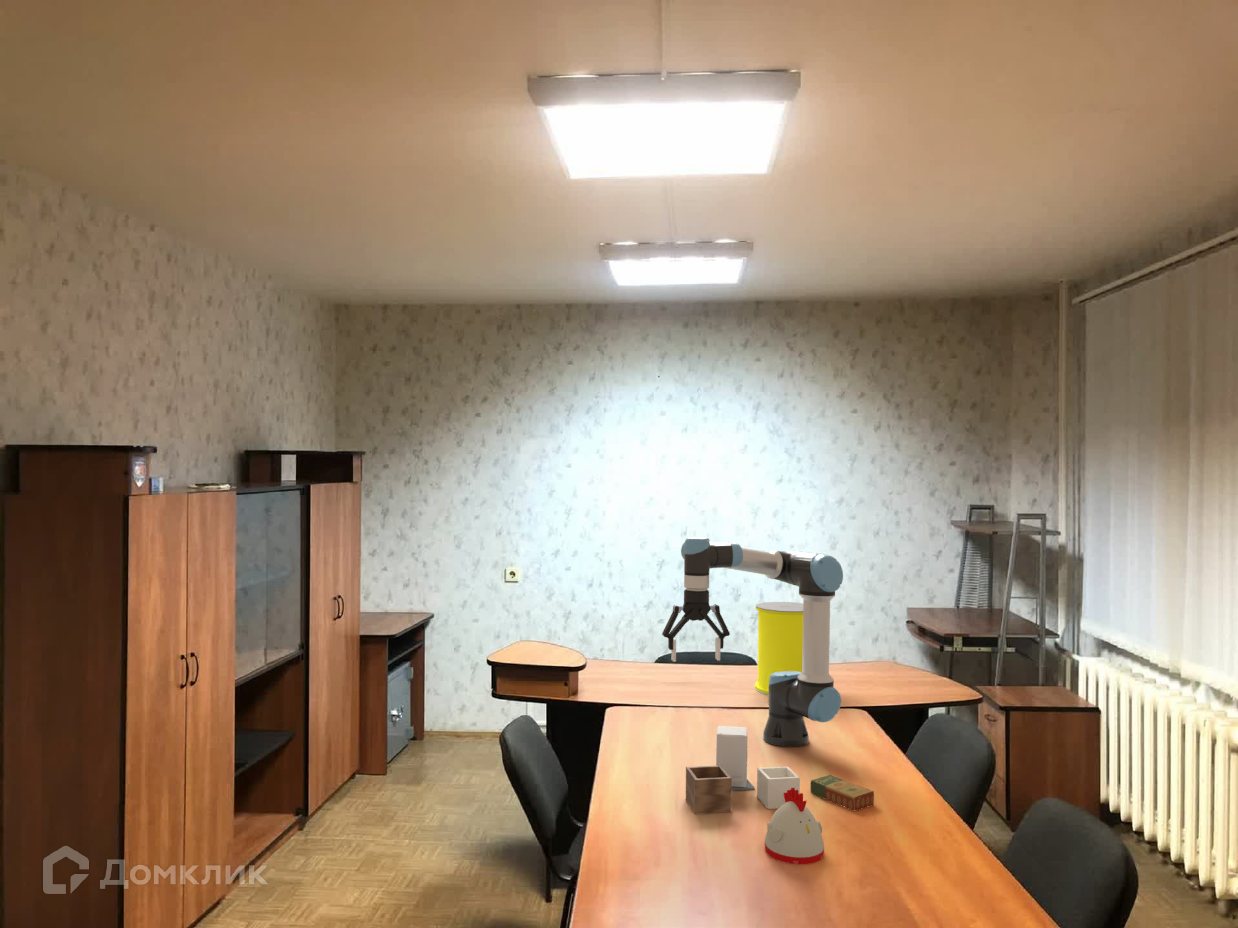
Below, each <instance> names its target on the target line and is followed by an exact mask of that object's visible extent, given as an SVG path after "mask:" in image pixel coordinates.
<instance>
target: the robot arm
mask: <svg viewBox="0 0 1238 928" xmlns="http://www.w3.org/2000/svg"><path fill="white" fill-rule="evenodd" d="M680 553H681V555H680V556H681V557H682V559H683V563H684V564H683V566H684V568H683V571H684V573H683V574H684V576H683V577H684V578H683V587H684V588H685V589H684V590H683V605H681V606H680V605H677V604H674V605H673V606H672V612H671V615H670V617H669V619H668V620H667V623H666V625H665V627H664V628H663V631H662V636H663V637H664V638H667V639H668V640H667V645H668V646H667V649H668V650H670V652H671V658H670V659H671V661H672V662H673V663H674V662H677V639H676V638H675V637H676V636H677V635H678V633H679V632H680V631H681V630H682V629H683V627H684V626H685V625H686V624H687V623H688V622H689V621H692V622H694V621H703V620H704V621H705V622H706V623H707V624H708V625H709V627H710V628H711V629H712V630H713V631H714V633H715V634H716V635H717V636H715V640H714V641H715V649H714V650H715V653H714V654H715V657H714V658H715V660H717V661H718V662H719V661H721V650H723V649H724V643H725V641H724V639H725V637H729V636H730V635H731V633H730V631H729V628H728V627H727V625H726V623H725V620H724V618H723V616H722V614H721V609H720V605H718V604H715V603H714V604H713V605H710V590H709V588H710V569H720V568H721V569H722V568H724V569H728V570H729V569H730V570H734V571H741V572H742V571H743V572H745V573H746V572H748V573H753V574H760V575H764V576H765V577H767V578H768V579H770V580H771V579H772V580H777V581H780V582H783V583H786V584H789V585H792V586H794V587H795V586H796V587H798V595H799V596H800V598H801V599H803V656H802V672H797V671H783V672H775V673H773V674H771V675H770V678H769V695H768V718H767V721H766V724H765V725H764V729H763V741H764V742H766V743H767V744H771V745H775V746H779V747H789V748H791V747H793V748H794V747H802V746H805V745H807V744H808V743H809V738H810V737H809V733H808V729H807V727H806V722H805V719H804V718H806V719H809V720H811V721H813V722H819V723H827V722H830V721H831V720H833V719H834V718H835V717H836V715H837V714H838V713H839V710H840V708H841V705H842V704H841V703H842V697H841V693H840V692H839V691H838V690H837V689H836V688H835V687H834V684H835V683H834V682H835V681H834V678H833V677H832V675H831V674H830V640H831V639H830V637H831V636H830V635H831V633H830V632H831V631H830V630H831V628H830V627H831V601H832V599H834V597H836V591H838V590H839V589H840V588H841V585H842V583H843V580H844V571H843V568H842V566H841V563H840V562H839V561H838V560H837V559H836V558H835V557H833V556H832V555H828V554H825V553H817V552H816V553H815V552H806V551H805V552H804V551H795V550H794V551H791V550H790V551H789V550H788V551H785V550H784V551H782V550H775V549H774V550H770V551H764V550H763V551H762V550H757V549H752V548H746V547H741V545H740V544H738V543H737V542H730V541H729V542H718V541H717V542H716V541H710V539H709V537H705V536H704V537H703V536H691V537H690V536H689V537H687V538H685V540H684V542H683V543H682V545H681V549H680ZM710 611H711V612H712V613H713V614H714V616H715V618H716V620H717V622H718V624H719V626H720V628H721V630H722V631H721V630H720V629H719V628H718V627H717V625H716V624H715V622H714V621H713V620H712V619H711V617H710V616H709V615H708V614H709V613H710ZM681 612H683V613H684V614H683V616H681V619H680V620H679V621H678V622H677V624H676V625H675V626H674V624H675V622H676V620H677V619H678V616H679V614H680V613H681Z"/></svg>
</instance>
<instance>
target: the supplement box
mask: <svg viewBox="0 0 1238 928" xmlns="http://www.w3.org/2000/svg"><path fill="white" fill-rule="evenodd" d="M715 749H716V751H715V752H716V754H715V755H716V757H715V758H716V762H715V763H716V765H715V766H719V765H721V766H722V767H723V769H724V770H725V771H726V772H727V773H728V775H729V776H730V777H731V786H732V787H745V788H746V785H747V780H748V778H747V777H748V727H747V726H746V727H745V726H729V725H718V726H717V728H716V748H715Z"/></svg>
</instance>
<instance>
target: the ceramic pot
mask: <svg viewBox="0 0 1238 928" xmlns="http://www.w3.org/2000/svg"><path fill="white" fill-rule="evenodd" d="M756 769H757V770H756V772H757V773H756V774H757V775H756V778H757V779H756V797H757V799H758V800H759V801H760V802H761V803H762V804H763V805H764V806H765V807H766V808H767V810H775V809H776V810H777V809H778V808H779V807H781V806H782V805H783V804H784V803H785V799H784V793H786V792H787V790H791V788H795V790H798V792H799V794H800V793H801V791H800V790H801V787H800V786H801V784H800V783H801V777H799V775H798V774H797V773H795V771H793V770H792V768H790V767H789V766H771V767H766V766H765V767H757V768H756Z"/></svg>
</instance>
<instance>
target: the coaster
mask: <svg viewBox="0 0 1238 928" xmlns="http://www.w3.org/2000/svg"><path fill="white" fill-rule="evenodd" d="M753 790H754V791H755V790H756V787H755V786H754V785H753V784H752V783H751V781H749V780H748V779H747V785H746V788H745V787H732V786H731V792H735V791H753Z"/></svg>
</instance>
